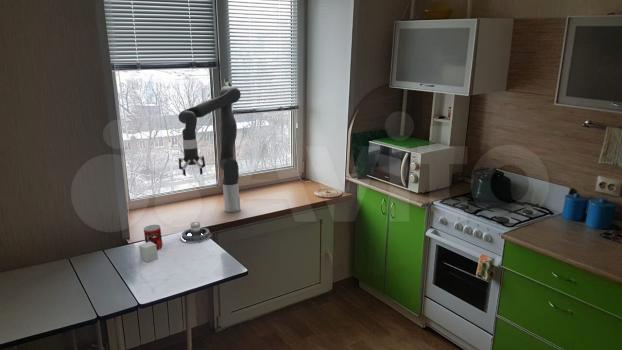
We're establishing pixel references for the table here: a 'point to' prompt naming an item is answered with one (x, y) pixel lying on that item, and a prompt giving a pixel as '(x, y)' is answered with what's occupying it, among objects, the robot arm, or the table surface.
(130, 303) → the table surface
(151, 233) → the canned food
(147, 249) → the product box
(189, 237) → the ring
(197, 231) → the piston
